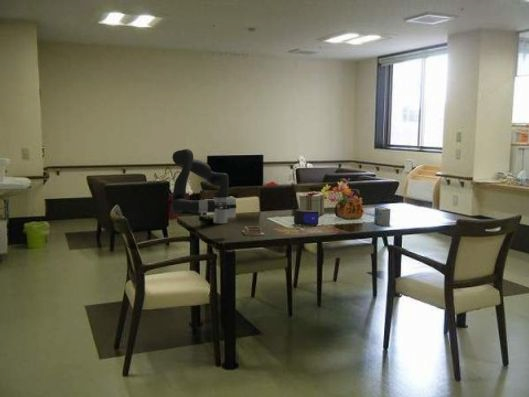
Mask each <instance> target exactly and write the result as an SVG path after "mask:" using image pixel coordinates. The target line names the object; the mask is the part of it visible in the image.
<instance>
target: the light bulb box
mask: <svg viewBox="0 0 529 397" xmlns="http://www.w3.org/2000/svg"><path fill="white" fill-rule="evenodd" d="M373 223H375V224H377V225H380V226H390V225H391V224H390V223H391V208H388V207H385V206H375V207H374V220H373Z"/></svg>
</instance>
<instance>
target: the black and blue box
mask: <svg viewBox="0 0 529 397" xmlns="http://www.w3.org/2000/svg"><path fill="white" fill-rule="evenodd" d="M319 218H320V216H319V212H318V211H307V210H300V209H296V210H294V211H293V223H294V224H295V225H298V224H301V225H300V226H317V225H318V224H319Z"/></svg>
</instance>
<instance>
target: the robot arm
mask: <svg viewBox="0 0 529 397" xmlns="http://www.w3.org/2000/svg"><path fill="white" fill-rule="evenodd" d="M171 158H172V162H173V163H174V164H175V165H176V166H179V167H181V171H180V172H179V174H178V175H177V177H176V179H175V180H174V185H173V190H172V192H173V193H172V195H173V196H172V202H171V207H170V208H171V209H170V210H171V212H172V213H173V214H175V215H180V214H181V213H183V211H187V212H188V213H202V214H203V213H205V214H207V213H209V214H211V213H213V224H227V223H228V218H227V217H226V209H230V208H236V209H237V203H236V204H226V198H229V196H228V195H229V189H230V188H229V187H230V185H229V184H230V178H229V174H228V173H226V172H215V171H213V170H212V169H211V166H210V164H207V163H206V162H204V161H203V160H199V159H194V154H193V151H192V150H191V149H190V148H186V149H185V148H184V149H178V150H176V151H175V152H173V153H172V157H171ZM190 172H191V173H193V174H195V175H196V176H198V177H199V178H202V179H203V180H206V182H208V183H210V184H211V185H212V186H213V187H217V188H219V190H218V191H215V192H213V199H196V200H189V199H185V196H186V191H187V186H188V184H187V183H188V180H189V176H190ZM226 206H227V208H226Z"/></svg>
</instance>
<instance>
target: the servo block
mask: <svg viewBox="0 0 529 397" xmlns="http://www.w3.org/2000/svg"><path fill="white" fill-rule="evenodd" d="M226 204H236V205H237V199H236V197H234V196H228V198H226ZM226 208H227V206H226ZM236 210H237V207H236V208H230V209H226V217H227V219H228V218H229V219H230V218H236V217H237V216H236V214H237V212H236Z"/></svg>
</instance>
